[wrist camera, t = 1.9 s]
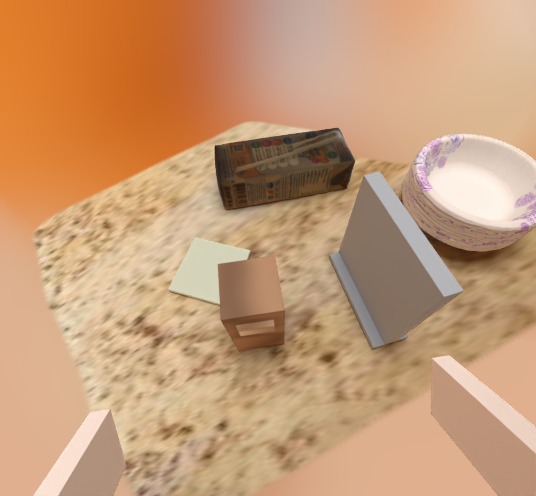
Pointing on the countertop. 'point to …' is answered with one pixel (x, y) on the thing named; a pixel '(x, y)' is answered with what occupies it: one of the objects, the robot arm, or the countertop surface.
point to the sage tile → (204, 269)
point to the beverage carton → (282, 167)
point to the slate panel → (389, 266)
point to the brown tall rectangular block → (252, 302)
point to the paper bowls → (472, 192)
